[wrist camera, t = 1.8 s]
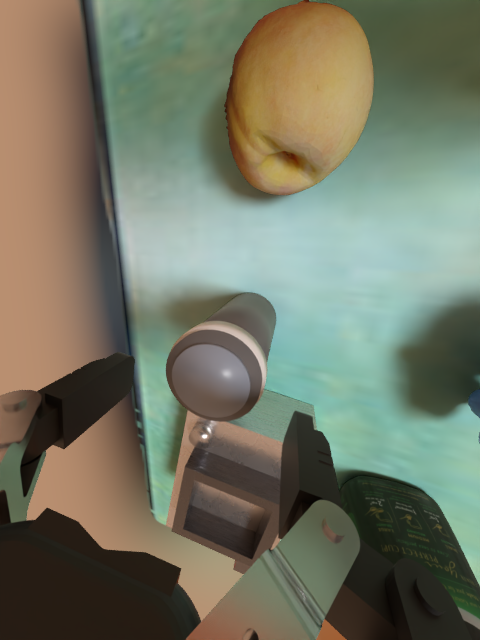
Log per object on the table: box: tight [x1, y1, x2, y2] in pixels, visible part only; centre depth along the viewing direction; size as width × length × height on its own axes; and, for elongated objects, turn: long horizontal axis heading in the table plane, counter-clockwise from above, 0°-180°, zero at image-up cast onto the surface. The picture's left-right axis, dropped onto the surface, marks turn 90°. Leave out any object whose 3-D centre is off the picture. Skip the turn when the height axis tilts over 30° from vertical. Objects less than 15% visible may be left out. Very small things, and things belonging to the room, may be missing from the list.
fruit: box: [224, 0, 374, 195], centre depth 13 cm, size 8×8×8 cm
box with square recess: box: [166, 389, 317, 574], centre depth 22 cm, size 16×11×8 cm
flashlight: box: [166, 293, 276, 422], centre depth 16 cm, size 5×5×11 cm
